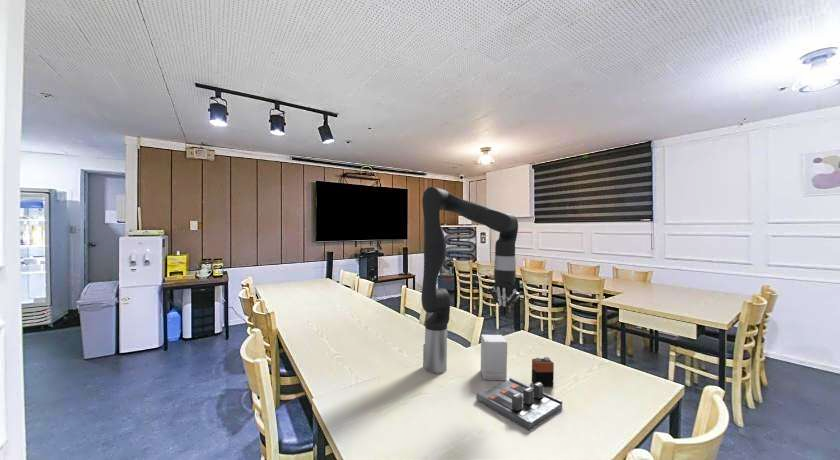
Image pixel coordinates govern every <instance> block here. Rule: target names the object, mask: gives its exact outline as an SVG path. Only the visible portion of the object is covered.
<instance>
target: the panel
mask: <svg viewBox="0 0 840 460" xmlns="http://www.w3.org/2000/svg"><path fill="white" fill-rule="evenodd" d="M526 388H531V389H533V403H531V404H529V405H528V404H526V403H524V402H523V390H524V389H526ZM515 393H519V394H520V395H522V409H520V410H518V411H516V410H514V409H513V408H512V395H514V394H515ZM476 402H477V403H479V404H481V405H482V406H485V408H488V409H489V410H491V411H493V412H495V413H497V414H498V415H500V416H502V417H504V418H506V419H507V420H509V421H510V422H512V423H514V424H516V425H517V426H520V427H521V428H523V429H524V430H526V431H528V432H529V431H531V430H532V429H534V428H536V427H537V426H539V425H541V424H542V423H543V422H545V421H546V420H548V419H550V418H551V417H552V416H554V415H556V414H557V413H559V412H560V411H562V410H563V400H561V399H558V398H556V397H554V396H552V395H550V394H548V393H545V392H543V397H541V398H539V399H538V398H536V397H534V387H532V386H530V385H527V384H525V383H523V382H522V381H518V380H516V379H514V378H512V377H510V378H509V379H508V380H505V381H504V382H502V383H500V384H498V385H496V386H493V387H491V388H489V389H487V390H485V391H482V392H481V393H480V392H476Z"/></svg>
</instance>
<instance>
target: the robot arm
mask: <svg viewBox="0 0 840 460" xmlns="http://www.w3.org/2000/svg"><path fill="white" fill-rule="evenodd" d="M422 194H423V195H422V211H423V231H424V232H423V238H424V241H423V278H422V287H421V305H422V308H423V309H422V310H424V311H425V312H426V313H427V314H428V313H430V314H431V313H432V314H431V315H430V316H429V317H428V318H427V319H426V320H425V323H424V343H423V345H422V346H423V349H422V350H423V351H422V352H423V353H422V355H423V356H422V367H423V368H424V370H425V371H426V372H428V373H430V374H443V373H445V372H446V371H447V368H448V367H447V365H448V364H447V363H448V362H447V361H448V357H447V356H448V324H449V322H450V314H451V312H450V311H451V297H450V294H449V291H448V290H447V289H445V288H442V287H440V288H437V282H438V281H437V280H438V277H439V274H440V272H441V270H442V267H443V266H444V264H445V261H446V258H447V241H446V236H445V234H444V231H443V228H442V226H441V219H440V211H445V212H452V213H455V214H458V215H460V216H462V217H463V218H465V219H467V220H469V221H471V222H474V223H476V224H478V225H483V226H486V228H489V229H491V230H493V231H496V232H499V237H498V239H497V240H496V242H495V245H494V250H495V251H494V261H493V265H494V267H493V280H494V283H493V286H492V287H490V288H489V289H488V291H489V293H490V295H491V297H492V299H493V301H494V303H496V304H498V305H499V314H500V317H504V318H505V317H507V316H509V312H510V311H509V307H510V306H514V305H515V303H516V302H517V301H518V300H519V298H520V297H521V296H522V293H521V292H518V291H517V289H516V288H517V287H516V285H515V284H516V278H517V277H516V275H517V273H516V272H517V271H516V266H517V262H516V241H517V237H518V233H519V221H518V218H517V217H516V216H515V215H514V214H512V213H506V212H502V211H498V210H495V209H492V208H491V207H489V206H487V205H483V204H480V203H477V202H473V201H470V200H467V199H464V198H463V199H462V198H461V197H459V196H456V195H454V194H452V193H451V192H450V191H447V190H446V189H444V188H440V187H436V186H429V187H427V188H426V189H425V190H424V192H423V193H422Z"/></svg>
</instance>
